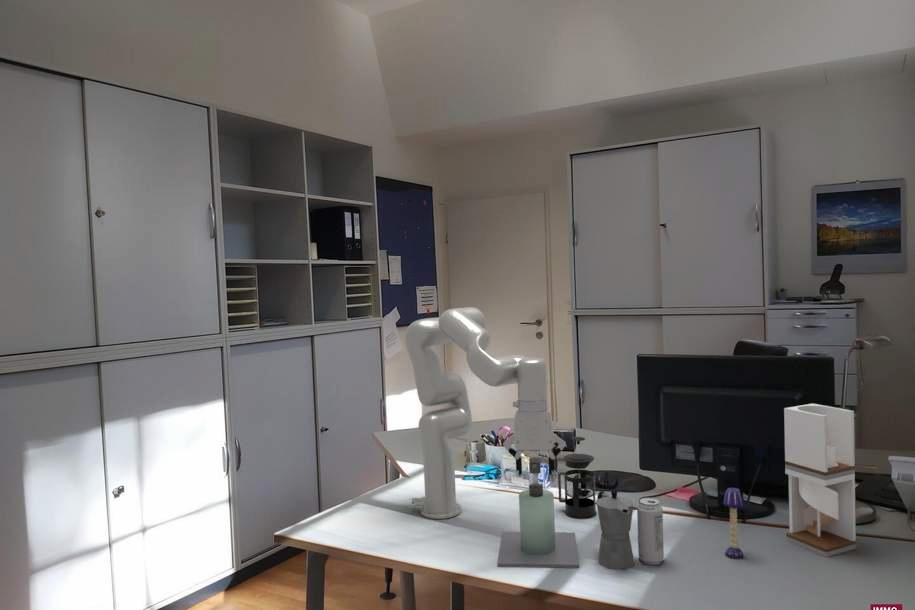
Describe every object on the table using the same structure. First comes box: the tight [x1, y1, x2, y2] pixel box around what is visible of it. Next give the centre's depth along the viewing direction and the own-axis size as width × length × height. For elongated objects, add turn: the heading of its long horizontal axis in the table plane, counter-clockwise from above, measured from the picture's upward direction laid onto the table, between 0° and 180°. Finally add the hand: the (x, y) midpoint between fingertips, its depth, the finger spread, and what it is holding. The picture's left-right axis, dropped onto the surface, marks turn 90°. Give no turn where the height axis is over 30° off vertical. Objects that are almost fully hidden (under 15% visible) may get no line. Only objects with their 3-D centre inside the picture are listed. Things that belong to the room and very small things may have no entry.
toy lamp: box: [723, 487, 744, 560], centre depth 163 cm, size 5×5×17 cm
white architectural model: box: [783, 403, 857, 558], centre depth 167 cm, size 11×11×35 cm
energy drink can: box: [636, 497, 665, 566], centre depth 162 cm, size 6×6×15 cm
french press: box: [557, 436, 598, 520], centre depth 196 cm, size 12×9×23 cm
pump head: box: [528, 456, 542, 484], centre depth 169 cm, size 3×8×6 cm, turn 172°
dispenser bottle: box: [496, 482, 580, 569], centre depth 171 cm, size 20×20×17 cm
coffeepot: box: [595, 489, 636, 570], centre depth 163 cm, size 15×9×18 cm, turn 13°
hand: (535, 472), depth 170 cm, fingers open, 7 cm apart
